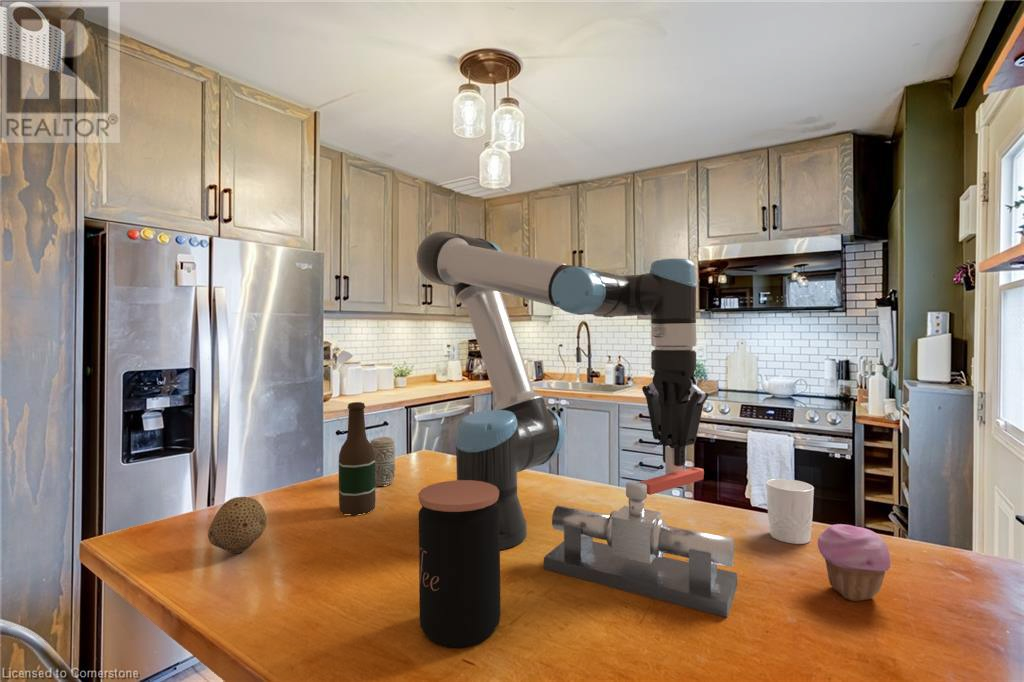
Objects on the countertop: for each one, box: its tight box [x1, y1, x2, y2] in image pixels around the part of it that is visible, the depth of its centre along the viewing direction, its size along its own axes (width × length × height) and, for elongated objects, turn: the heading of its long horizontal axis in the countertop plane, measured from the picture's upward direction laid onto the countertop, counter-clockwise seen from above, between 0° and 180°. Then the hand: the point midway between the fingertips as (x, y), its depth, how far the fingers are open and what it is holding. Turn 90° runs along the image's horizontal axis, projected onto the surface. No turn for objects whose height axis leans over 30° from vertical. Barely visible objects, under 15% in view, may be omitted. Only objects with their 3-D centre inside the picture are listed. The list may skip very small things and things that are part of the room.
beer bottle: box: [338, 401, 376, 515], centre depth 111 cm, size 8×8×24 cm
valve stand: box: [543, 498, 738, 618], centre depth 79 cm, size 28×10×12 cm, turn 59°
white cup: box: [765, 478, 815, 545], centre depth 94 cm, size 8×8×10 cm
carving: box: [370, 436, 396, 487], centre depth 131 cm, size 6×8×12 cm
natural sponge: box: [207, 496, 268, 554], centre depth 89 cm, size 9×9×10 cm
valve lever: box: [625, 467, 705, 500], centre depth 84 cm, size 19×3×2 cm, turn 125°
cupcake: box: [817, 523, 891, 602], centre depth 73 cm, size 9×9×10 cm
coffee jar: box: [418, 479, 501, 649], centre depth 66 cm, size 11×11×18 cm
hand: (673, 482), depth 88 cm, fingers closed
